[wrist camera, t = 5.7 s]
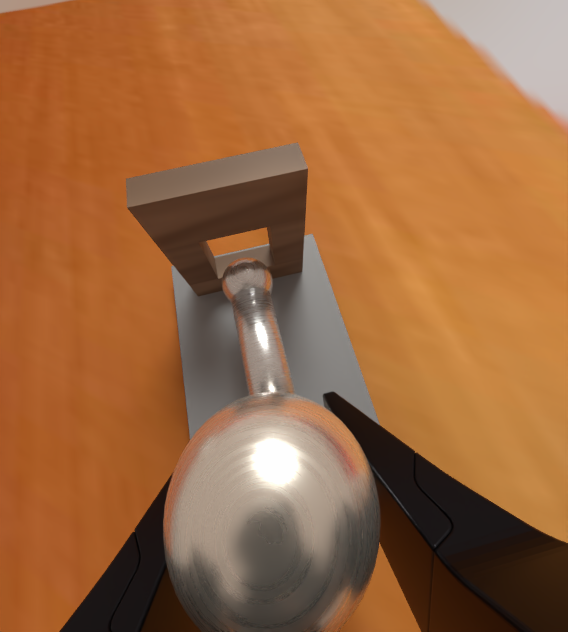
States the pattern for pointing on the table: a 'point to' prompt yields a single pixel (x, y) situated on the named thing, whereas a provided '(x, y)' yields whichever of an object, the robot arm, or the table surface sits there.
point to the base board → (296, 332)
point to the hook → (270, 496)
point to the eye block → (225, 212)
